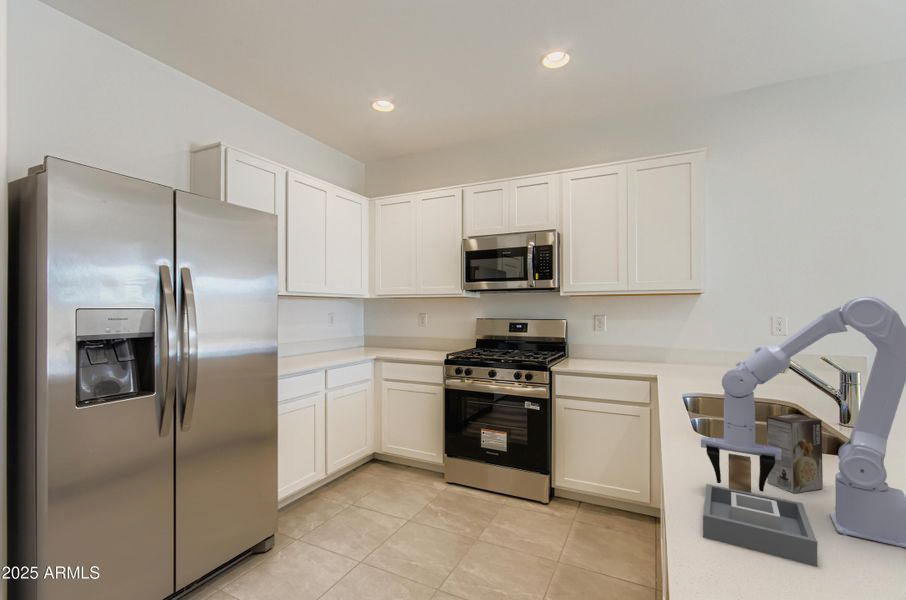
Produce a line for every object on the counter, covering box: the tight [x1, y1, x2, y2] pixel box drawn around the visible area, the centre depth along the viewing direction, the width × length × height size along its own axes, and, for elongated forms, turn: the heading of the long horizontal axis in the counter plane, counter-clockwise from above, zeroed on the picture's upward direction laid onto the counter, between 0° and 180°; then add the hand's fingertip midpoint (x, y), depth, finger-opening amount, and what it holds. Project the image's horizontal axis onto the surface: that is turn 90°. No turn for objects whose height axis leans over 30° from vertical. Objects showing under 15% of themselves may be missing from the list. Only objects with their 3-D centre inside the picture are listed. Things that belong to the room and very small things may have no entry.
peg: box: [727, 453, 752, 493], centre depth 93 cm, size 4×4×9 cm
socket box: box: [702, 483, 818, 567], centre depth 80 cm, size 16×16×5 cm
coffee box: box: [766, 413, 824, 494], centre depth 99 cm, size 9×6×16 cm
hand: (739, 485), depth 93 cm, fingers open, 7 cm apart
